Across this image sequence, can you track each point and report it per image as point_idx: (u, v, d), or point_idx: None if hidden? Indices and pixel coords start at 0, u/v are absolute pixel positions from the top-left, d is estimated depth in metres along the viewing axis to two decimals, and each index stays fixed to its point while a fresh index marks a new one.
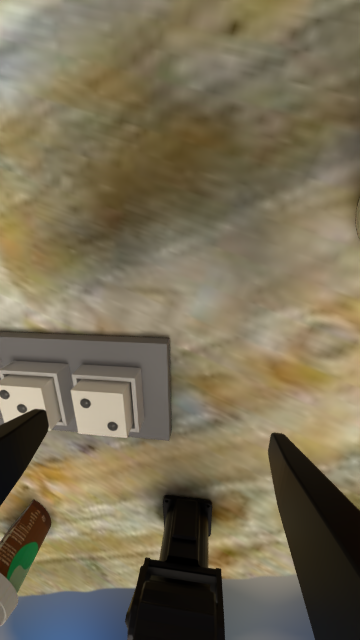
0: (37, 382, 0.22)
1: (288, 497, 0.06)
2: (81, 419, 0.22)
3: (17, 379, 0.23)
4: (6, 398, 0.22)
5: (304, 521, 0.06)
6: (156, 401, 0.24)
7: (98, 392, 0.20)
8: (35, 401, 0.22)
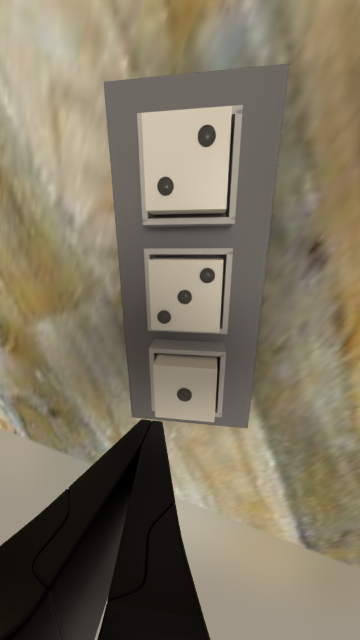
0: None
1: None
2: (196, 197, 0.14)
3: None
4: (169, 316, 0.16)
5: None
6: (202, 97, 0.15)
7: (145, 160, 0.13)
8: (170, 272, 0.15)
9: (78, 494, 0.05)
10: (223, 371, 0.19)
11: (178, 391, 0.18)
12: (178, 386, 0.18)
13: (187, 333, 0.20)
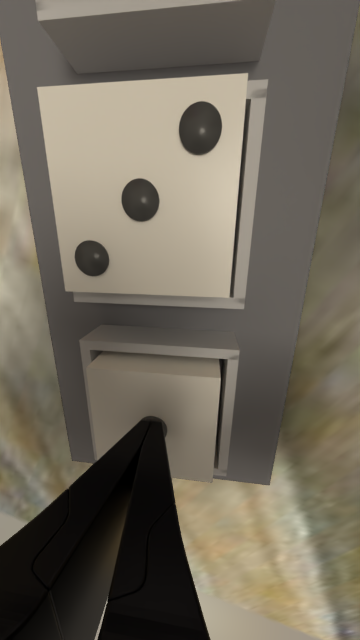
0: None
1: None
2: None
3: None
4: (104, 255, 0.06)
5: None
6: None
7: None
8: (100, 127, 0.06)
9: (78, 494, 0.05)
10: (232, 390, 0.09)
11: None
12: (139, 412, 0.09)
13: (162, 313, 0.11)
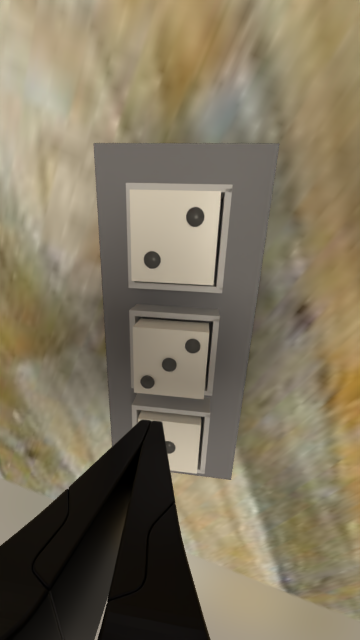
0: None
1: None
2: (183, 272, 0.13)
3: None
4: (153, 381, 0.16)
5: None
6: (193, 167, 0.15)
7: (132, 233, 0.13)
8: (155, 340, 0.15)
9: (78, 494, 0.05)
10: (207, 430, 0.18)
11: None
12: None
13: None
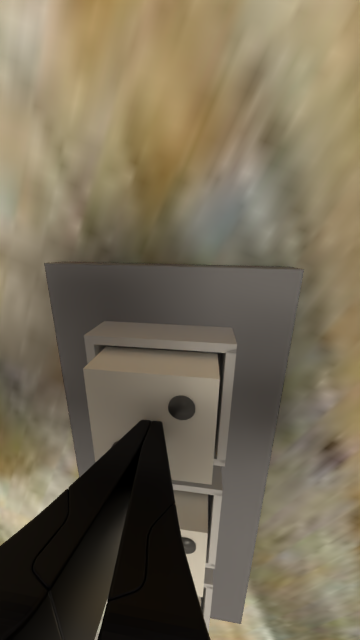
0: None
1: None
2: None
3: None
4: None
5: None
6: (182, 295, 0.11)
7: (91, 419, 0.09)
8: None
9: (78, 494, 0.05)
10: (209, 601, 0.14)
11: None
12: None
13: None
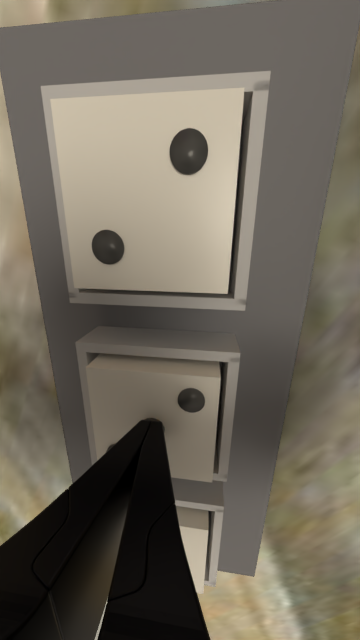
0: None
1: None
2: (169, 270, 0.07)
3: None
4: None
5: None
6: (185, 63, 0.07)
7: (65, 196, 0.07)
8: (126, 390, 0.09)
9: (78, 494, 0.05)
10: (219, 530, 0.11)
11: None
12: None
13: None
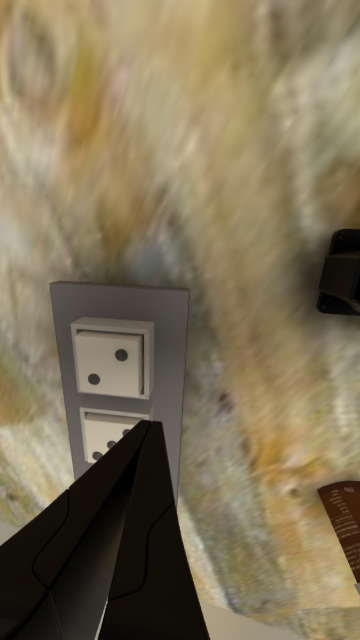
0: None
1: None
2: (116, 388, 0.18)
3: None
4: (101, 456, 0.21)
5: None
6: (126, 303, 0.19)
7: (78, 362, 0.18)
8: (101, 429, 0.20)
9: (78, 494, 0.05)
10: None
11: None
12: None
13: None
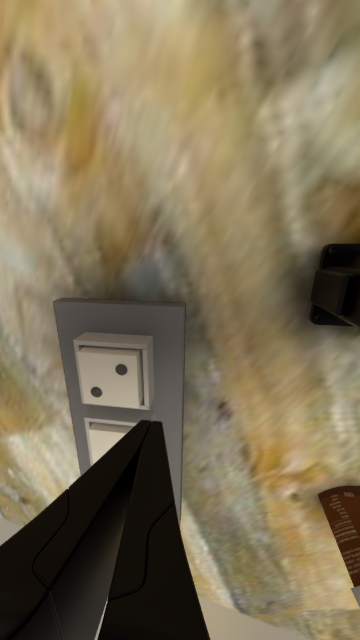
0: None
1: None
2: (118, 400, 0.19)
3: None
4: None
5: None
6: (125, 318, 0.20)
7: (81, 376, 0.19)
8: (104, 438, 0.21)
9: (78, 494, 0.05)
10: None
11: None
12: None
13: None
